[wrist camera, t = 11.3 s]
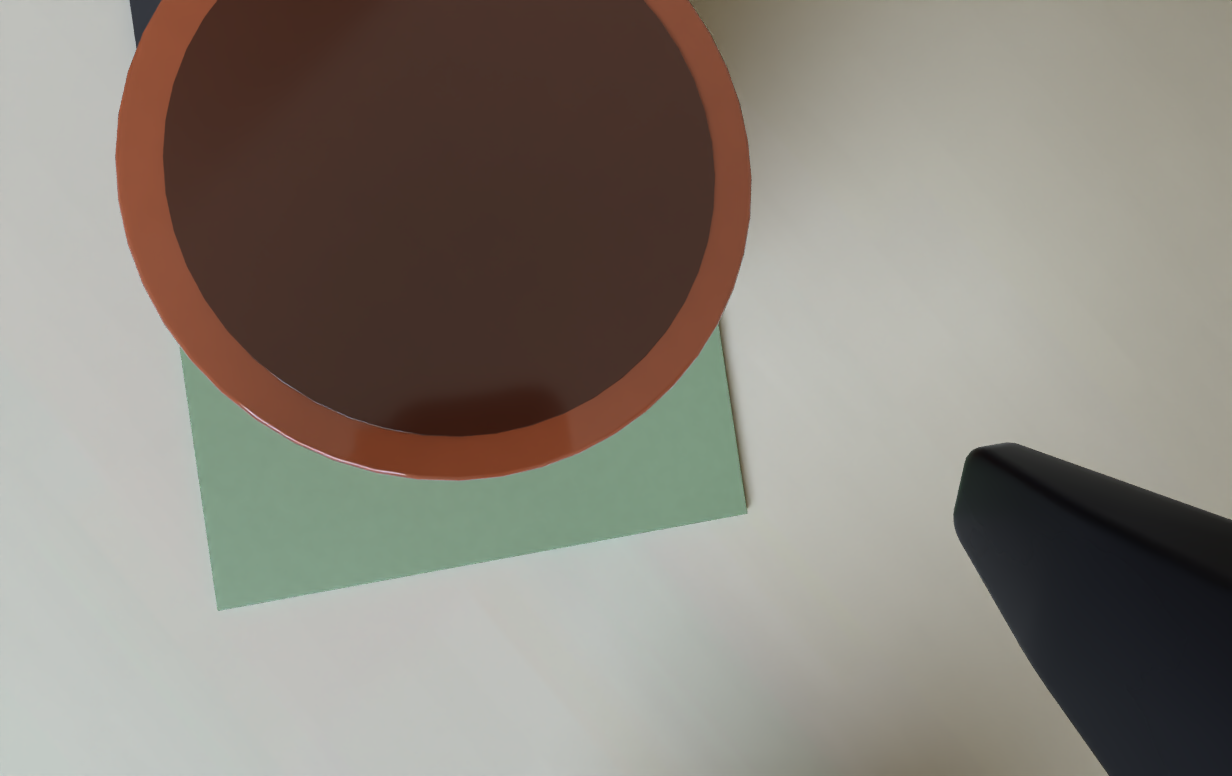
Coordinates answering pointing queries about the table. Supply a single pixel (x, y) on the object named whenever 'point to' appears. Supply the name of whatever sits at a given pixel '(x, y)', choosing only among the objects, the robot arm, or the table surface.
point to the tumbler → (435, 217)
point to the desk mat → (445, 490)
